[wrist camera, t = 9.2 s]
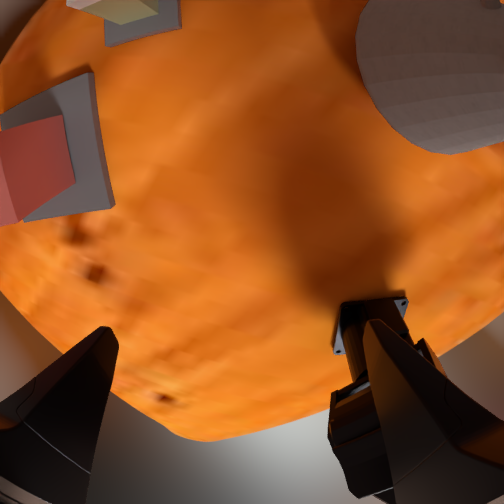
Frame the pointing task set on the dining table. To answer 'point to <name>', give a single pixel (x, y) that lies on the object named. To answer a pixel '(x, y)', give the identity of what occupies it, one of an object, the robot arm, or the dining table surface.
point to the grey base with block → (132, 17)
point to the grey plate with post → (71, 145)
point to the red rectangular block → (32, 167)
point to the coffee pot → (436, 70)
